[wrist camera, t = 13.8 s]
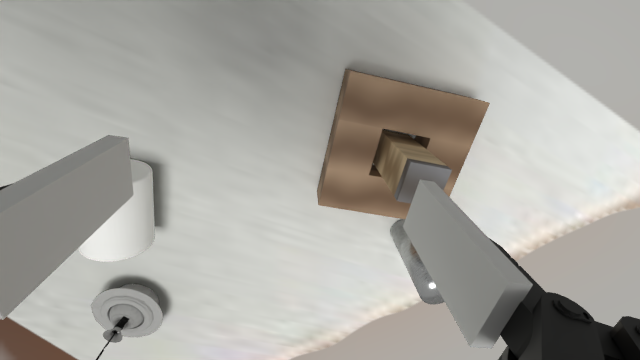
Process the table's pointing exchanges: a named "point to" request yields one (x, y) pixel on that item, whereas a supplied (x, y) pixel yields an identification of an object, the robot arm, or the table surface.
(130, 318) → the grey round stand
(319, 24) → the table surface
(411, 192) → the square bit
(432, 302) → the round bit
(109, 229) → the mug
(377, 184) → the bore block
